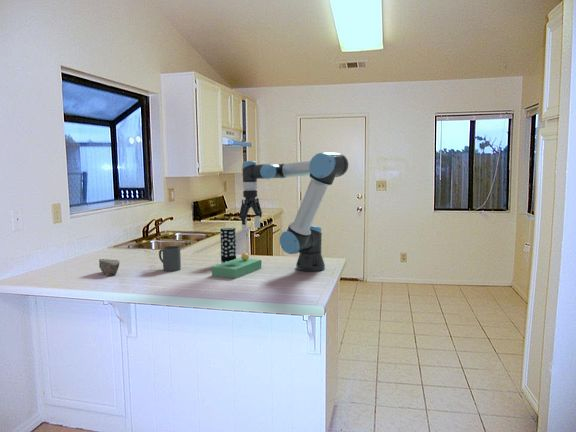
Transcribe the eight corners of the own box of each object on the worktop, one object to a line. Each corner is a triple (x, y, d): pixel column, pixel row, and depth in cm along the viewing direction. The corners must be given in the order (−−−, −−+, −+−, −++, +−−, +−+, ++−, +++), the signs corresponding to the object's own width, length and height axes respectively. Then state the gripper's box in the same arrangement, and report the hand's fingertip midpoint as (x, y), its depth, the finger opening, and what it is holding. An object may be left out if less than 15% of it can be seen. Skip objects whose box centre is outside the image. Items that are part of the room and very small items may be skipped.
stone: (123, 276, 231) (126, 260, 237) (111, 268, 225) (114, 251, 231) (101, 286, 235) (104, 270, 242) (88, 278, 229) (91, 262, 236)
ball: (250, 260, 244) (250, 252, 243) (246, 261, 240) (246, 254, 240) (244, 259, 246) (243, 252, 245) (239, 260, 242) (239, 253, 242)
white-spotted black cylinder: (233, 266, 251) (232, 229, 249) (219, 265, 253) (218, 229, 251) (238, 262, 259) (237, 227, 257) (224, 262, 261) (223, 227, 259)
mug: (184, 268, 245) (183, 246, 244) (172, 272, 237) (171, 249, 236) (165, 266, 252) (165, 244, 251) (153, 269, 244) (152, 247, 243)
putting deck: (261, 268, 245) (261, 259, 244) (235, 278, 223) (235, 269, 222) (239, 266, 251) (239, 257, 251) (212, 275, 229) (211, 266, 228)
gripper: (255, 189, 259) (256, 226, 261) (231, 191, 237) (232, 231, 239) (267, 188, 256) (268, 226, 258) (243, 191, 233) (245, 232, 235)
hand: (251, 229), depth 248 cm, fingers open, 13 cm apart
